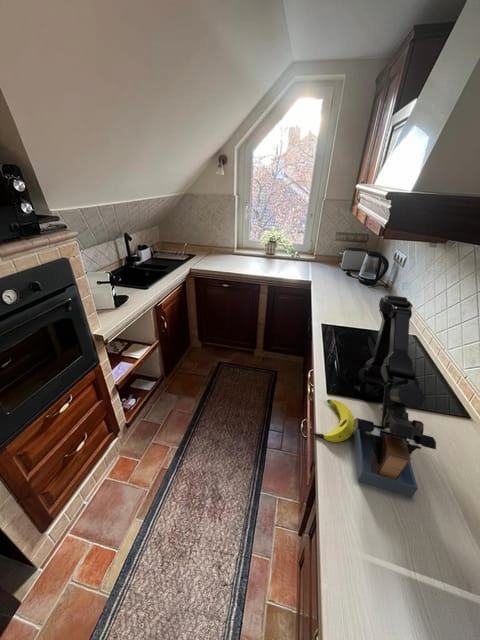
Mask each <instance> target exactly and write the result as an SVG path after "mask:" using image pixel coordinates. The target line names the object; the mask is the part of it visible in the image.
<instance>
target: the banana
mask: <svg viewBox="0 0 480 640" xmlns="http://www.w3.org/2000/svg"><path fill="white" fill-rule="evenodd" d="M326 401H327V403H328V404H329V405H331V406H332V407H333V408H334V409H335V411H336V412H337V413H338V416H339V418H340V421H339V424H338V425H337V427H336V428H335V429H334V430H333V431H331V432H329V433H318V432H317V433H316V432H315V433H314V432H313V434H312V435H313V436H316V437H317V438H318V439H324V440H326V441H327V442H329V443H341V442H343V441H346V440H348V439H349V438H350V437H351V436H353V434H354V431H355V428H354V427H353V423H354V419H355V418H354V414H353V413H352V411H351V409H350V408H349V407H348V406H347V405H346V404H345V403H344V402H342V401H340V400H337V399H326Z"/></svg>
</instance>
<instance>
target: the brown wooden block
mask: <svg viewBox="0 0 480 640" xmlns="http://www.w3.org/2000/svg"><path fill="white" fill-rule="evenodd" d="M411 460H412V457H411V455H410V454H409V450H408V447H407V443H406V441H404V440H401V439H397V438H393V437H389V436H385V437H384V439H383V441H382V442H381V460H380V464H378V463H377V460H376V457H375V456H374V458H373V460H372V461H371V470H372V473H374V474H377V475H381V476H384V477H387V478H391V479H394V480H397V479H398V477H399V476H400V474H401V473H402V471H403V470H404V468H405V467H406V465H407V464H408V462H409V461H410V462H411Z"/></svg>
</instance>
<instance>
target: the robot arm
mask: <svg viewBox="0 0 480 640" xmlns="http://www.w3.org/2000/svg"><path fill="white" fill-rule="evenodd" d="M378 307H379V309H378V312H379V315H380V318H381V323H380V326H379V331H378V333H377V338H376V342H375V346H374V350H373V353H372V356H371V358H370V359H369V360H367V361H365V365H364V367H361V368H360V369H359V371H358V378H359V382H358V385H357V386H354V390H355V391H357V392H358V394H359V395H360V396H361V397H363V399H365V400H370V399H375V398H377V397H379V396H380V394H379V392H380V389H381V388H380V387H383V395H382V396H383V397H382V407H380V411H381V417H380V421H379V425H378V424H375V422H374V421H371V420H367V419H364V418H359V417H356V418H354V423H353V427H354V429H356V428H357V429H359V430H363V431H367V432H365V434H367V435H369V438H370V440H371V443H372V446H373V449H374V453H375V457H376V460H377V463H378V464H380V460H381V441H382V438H383V437H381V436H380V433H383V434H387V435H391V436H395V437H399V438H402V439H403V440H404V441H406V443H407V447H408V450H409V454H410V456H411V454H412V453H414V451H416V450H421V449H422V447H424V448H427V449H433V450H437V441H436V439H435V437H434V436H430V435H427V434H424V431H425V429H424V428H425V426H424V423H423V421H421V420H417V419H412V420H409V412H407V408H410V409H417V408H419V407H421V406H422V405H423V404H424V402H425V398H426V397H425V394H424V392H423V390H422V389H421V388H420V381H419V379H418V376H417V375H416V372H415V370H414V361H413V359H412V358H411V357H410V355H409V341H410V340H409V339H410V337H409V335H410V320H411V318H412V313H413V312H412V308H413V304H412V302H411V301H410V300H408V298H407V297H406V296H399V295H392V294H391V295H390V294H385V295H384V296H383V297H380V299H379V304H378ZM387 429H388V430H387ZM421 446H422V447H421Z"/></svg>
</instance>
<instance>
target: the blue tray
mask: <svg viewBox="0 0 480 640" xmlns="http://www.w3.org/2000/svg"><path fill="white" fill-rule="evenodd" d="M365 432H367V431H363V430H359V429H357V428H354V431H353V433H352V436H353V446H354V447H353V448H354V458H355V467H356V468H355V469H356V480H357V482H358V483H361V484H364V485H368V486H371V487H374V488H378V489H381V490H384V491H387V492H391V493H393V494H397V495H400V496H403V497H407V498H410V499H412V498H413V496H414V495H415V494H416V492H417V490H418V489H419V487H418V483H417V481H416V477H415V473H414V470H413V466H412V463H411V460H410V461H409V462H408V464H407V465H406V467H405V468H404V470H403V471H402V473H401V474H400V476H399V477H398V479H397V480H394V479H391V478H387V477H384V476H381V475H377V474H374V473H372V470H371V461H372V460H373V458H374V456H375V453H374V449H373V446H372V443H371V440H370V438H369V435H367V434H365ZM380 436H381V437H383V438H382V441H383V439H384V437H385V436H389V437H393V438H397V439H401V440H403V439H402V438H399V437H395V436H391V435H387V434H383V433H380ZM382 441H381V442H382Z"/></svg>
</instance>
